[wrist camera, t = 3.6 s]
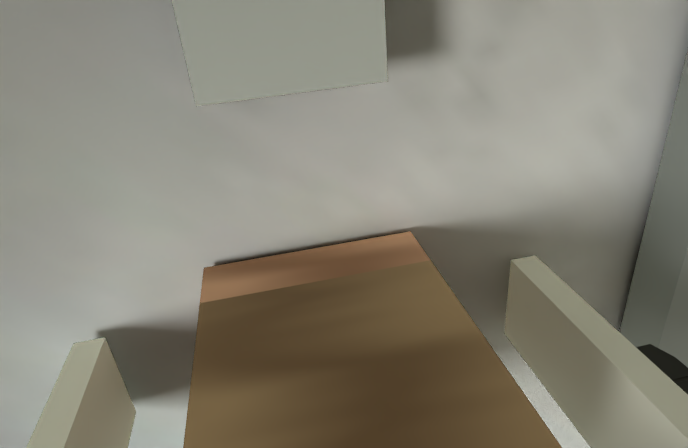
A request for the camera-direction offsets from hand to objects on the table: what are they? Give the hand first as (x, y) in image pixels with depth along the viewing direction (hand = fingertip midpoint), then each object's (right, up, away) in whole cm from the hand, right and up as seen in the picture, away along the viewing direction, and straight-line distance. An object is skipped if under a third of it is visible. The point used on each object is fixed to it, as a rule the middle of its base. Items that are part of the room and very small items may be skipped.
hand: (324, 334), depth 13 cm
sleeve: (0, 0, 0) cm, 0 cm away
